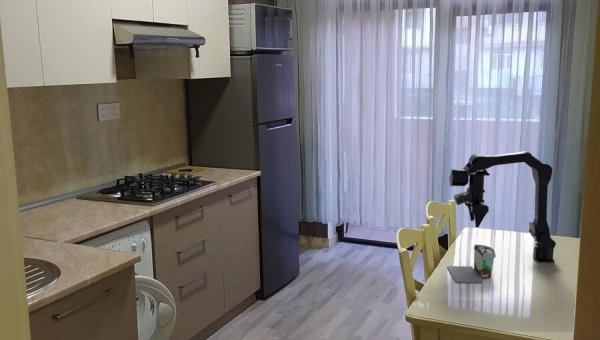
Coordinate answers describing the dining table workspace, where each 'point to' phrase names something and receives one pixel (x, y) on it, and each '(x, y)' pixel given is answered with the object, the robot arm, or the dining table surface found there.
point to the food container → (483, 260)
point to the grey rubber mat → (464, 274)
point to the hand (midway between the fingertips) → (474, 224)
